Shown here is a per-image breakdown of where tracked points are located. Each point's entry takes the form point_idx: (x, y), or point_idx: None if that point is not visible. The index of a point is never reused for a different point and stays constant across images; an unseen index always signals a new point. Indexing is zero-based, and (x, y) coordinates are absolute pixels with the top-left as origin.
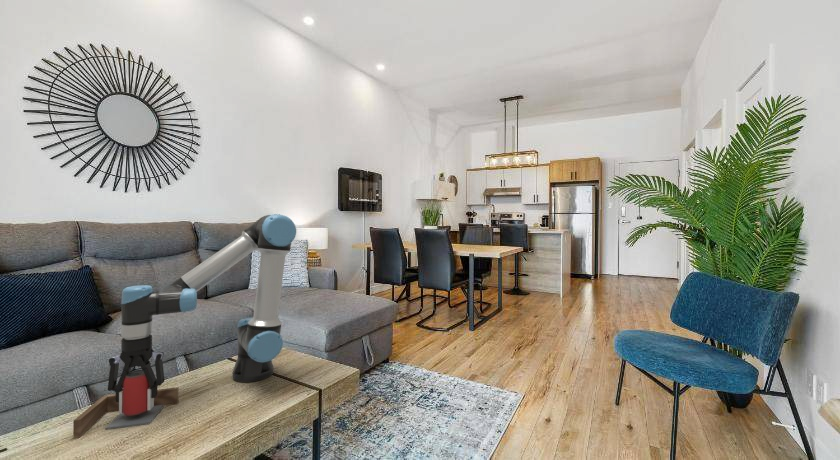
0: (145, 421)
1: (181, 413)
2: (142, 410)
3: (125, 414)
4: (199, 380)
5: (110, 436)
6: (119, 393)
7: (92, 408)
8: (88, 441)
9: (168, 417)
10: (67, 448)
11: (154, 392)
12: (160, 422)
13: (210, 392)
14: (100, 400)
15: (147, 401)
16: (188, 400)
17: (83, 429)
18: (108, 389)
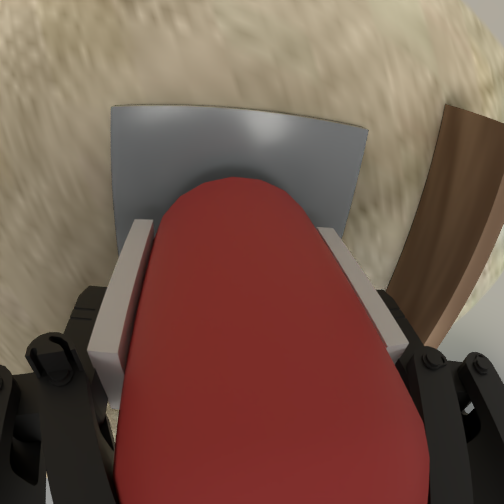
0: (143, 124)
1: (3, 201)
2: (176, 203)
3: (290, 196)
4: (113, 435)
5: (313, 25)
6: (401, 336)
7: (472, 262)
8: (404, 33)
9: (43, 169)
10: (458, 23)
11: (77, 323)
12: (61, 114)
13: (11, 358)
14: (432, 342)
15: (141, 259)
16: (48, 327)
17: (455, 138)
18: (486, 360)
